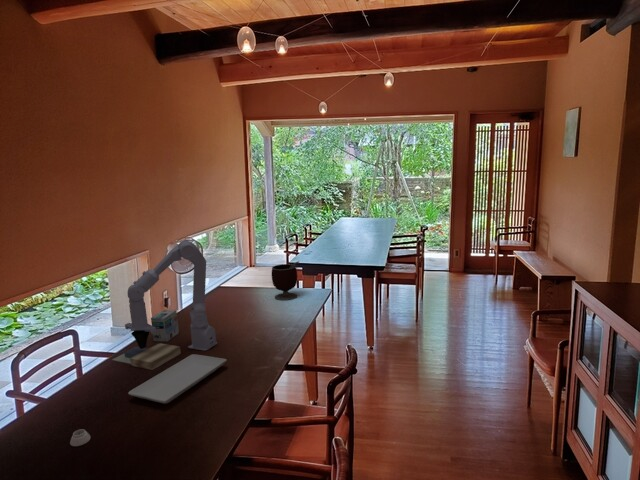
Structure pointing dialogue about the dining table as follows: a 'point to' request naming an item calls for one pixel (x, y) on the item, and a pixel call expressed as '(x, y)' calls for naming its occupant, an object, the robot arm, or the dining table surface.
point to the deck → (155, 356)
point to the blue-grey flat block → (134, 352)
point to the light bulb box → (165, 325)
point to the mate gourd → (285, 280)
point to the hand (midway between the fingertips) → (143, 347)
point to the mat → (122, 359)
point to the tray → (177, 378)
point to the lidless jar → (79, 438)
